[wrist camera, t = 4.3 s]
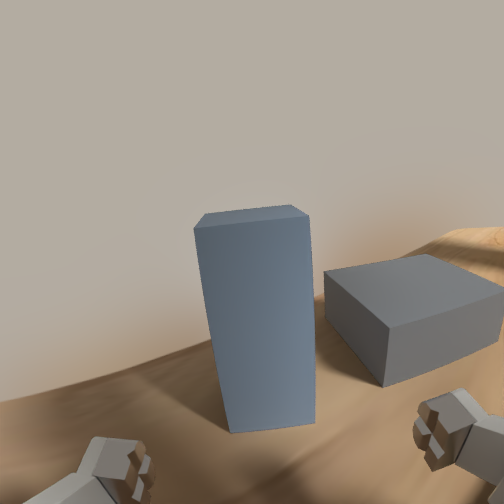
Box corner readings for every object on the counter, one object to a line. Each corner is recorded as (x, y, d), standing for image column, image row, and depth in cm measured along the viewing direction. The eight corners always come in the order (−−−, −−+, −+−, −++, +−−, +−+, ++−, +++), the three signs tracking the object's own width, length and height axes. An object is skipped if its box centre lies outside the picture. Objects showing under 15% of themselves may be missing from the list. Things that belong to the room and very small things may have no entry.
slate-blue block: (301, 376, 22) (290, 204, 19) (315, 423, 17) (309, 215, 14) (231, 384, 21) (205, 213, 19) (230, 433, 17) (193, 228, 14)
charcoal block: (423, 297, 32) (426, 253, 30) (497, 344, 20) (508, 289, 19) (325, 320, 30) (323, 271, 29) (382, 391, 19) (389, 328, 18)
